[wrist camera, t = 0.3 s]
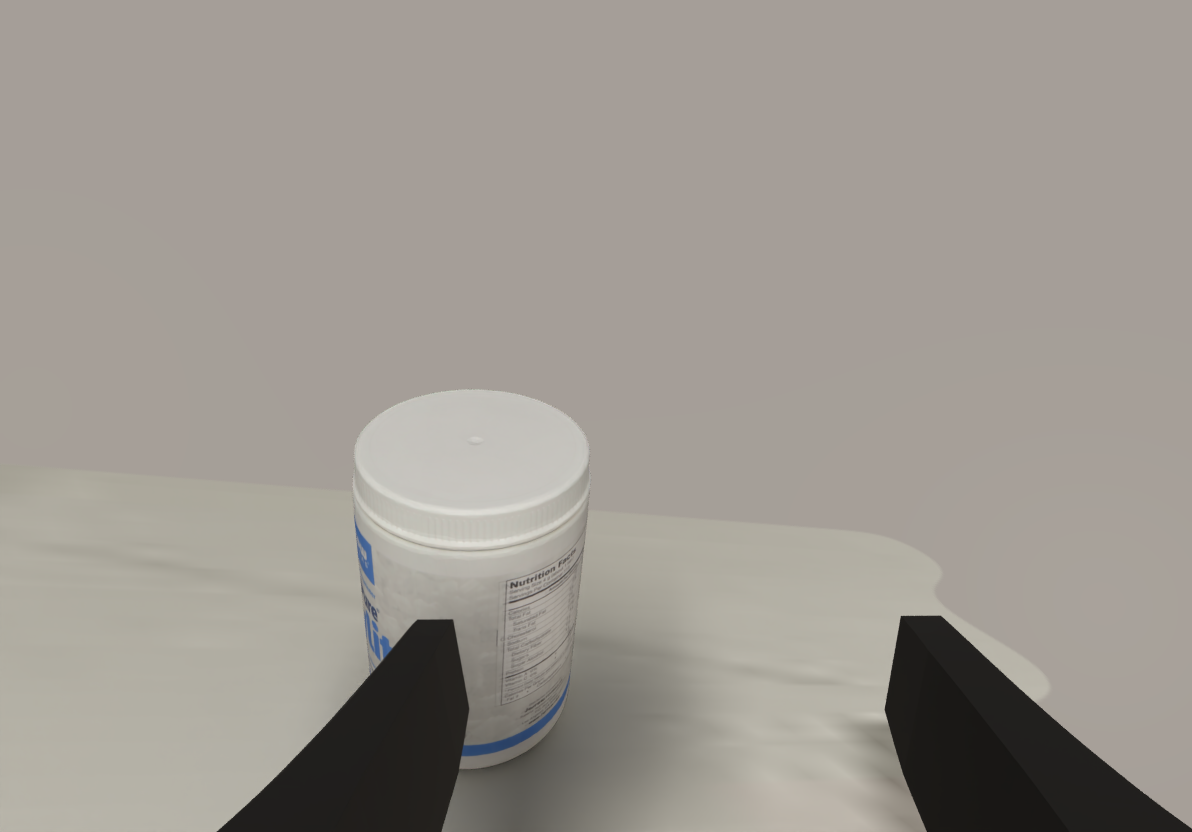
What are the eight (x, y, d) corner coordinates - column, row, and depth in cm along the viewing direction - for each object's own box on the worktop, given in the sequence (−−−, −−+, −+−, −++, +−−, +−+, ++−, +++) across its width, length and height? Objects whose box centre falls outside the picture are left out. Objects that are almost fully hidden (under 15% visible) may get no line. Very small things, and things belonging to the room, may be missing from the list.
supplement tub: (332, 705, 33) (289, 444, 26) (468, 594, 41) (463, 365, 33) (485, 824, 29) (484, 550, 22) (608, 676, 36) (637, 433, 29)
